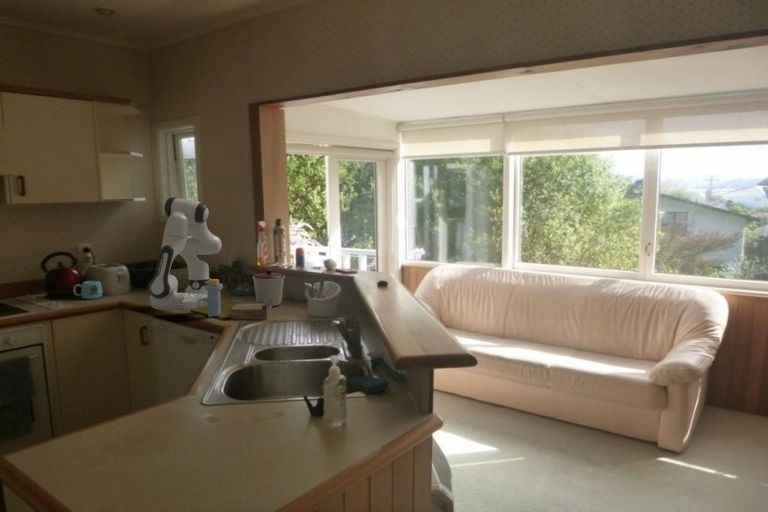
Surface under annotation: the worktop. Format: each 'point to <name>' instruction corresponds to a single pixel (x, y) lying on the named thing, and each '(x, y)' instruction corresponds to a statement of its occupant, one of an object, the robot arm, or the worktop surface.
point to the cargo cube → (213, 282)
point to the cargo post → (214, 299)
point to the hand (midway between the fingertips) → (210, 301)
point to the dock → (251, 310)
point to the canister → (269, 287)
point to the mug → (90, 290)
